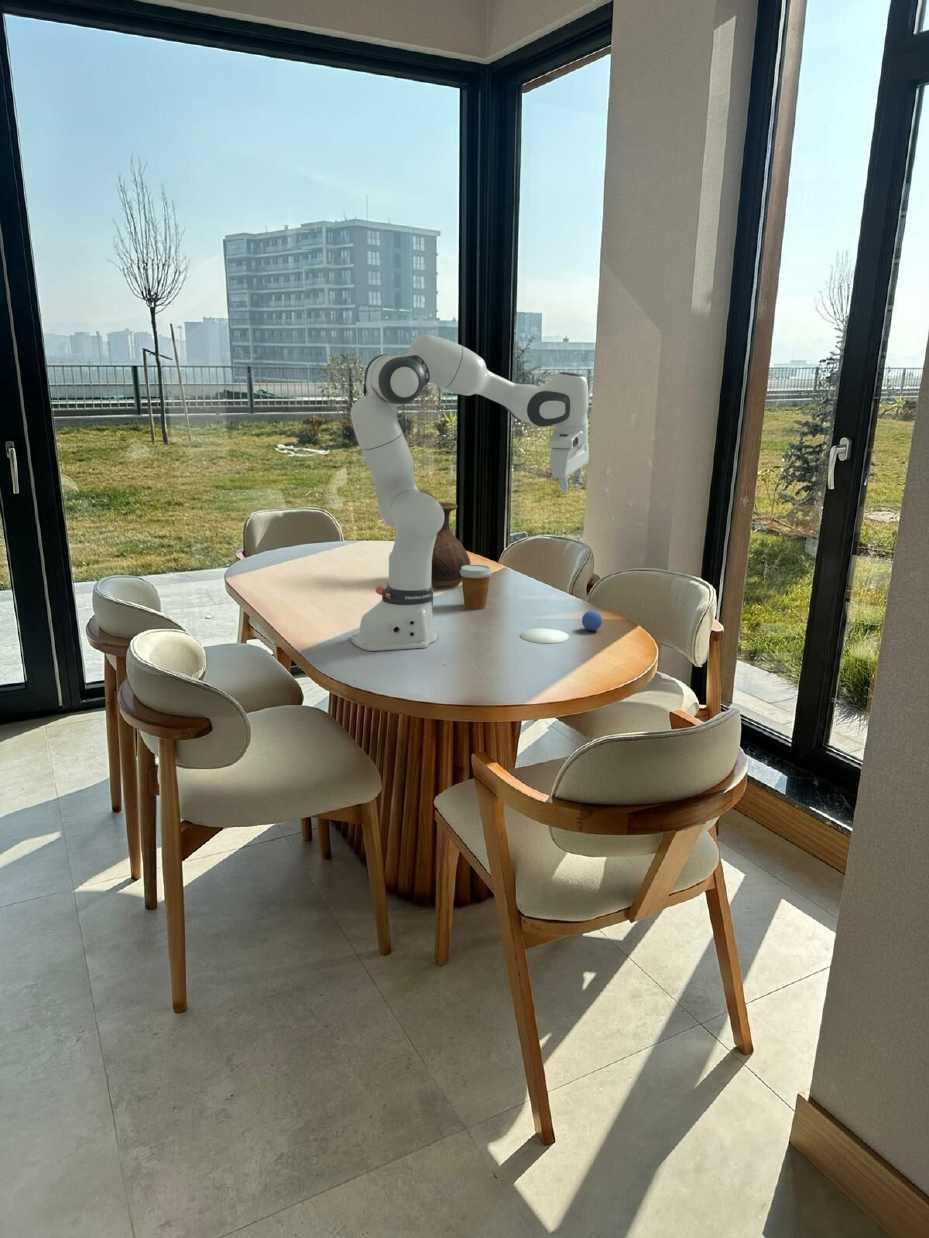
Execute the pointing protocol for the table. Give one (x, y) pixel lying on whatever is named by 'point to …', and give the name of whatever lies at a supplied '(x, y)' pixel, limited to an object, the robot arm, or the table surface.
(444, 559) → the jug
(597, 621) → the ball
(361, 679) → the table surface
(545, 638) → the disc
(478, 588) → the disposable coffee cup
